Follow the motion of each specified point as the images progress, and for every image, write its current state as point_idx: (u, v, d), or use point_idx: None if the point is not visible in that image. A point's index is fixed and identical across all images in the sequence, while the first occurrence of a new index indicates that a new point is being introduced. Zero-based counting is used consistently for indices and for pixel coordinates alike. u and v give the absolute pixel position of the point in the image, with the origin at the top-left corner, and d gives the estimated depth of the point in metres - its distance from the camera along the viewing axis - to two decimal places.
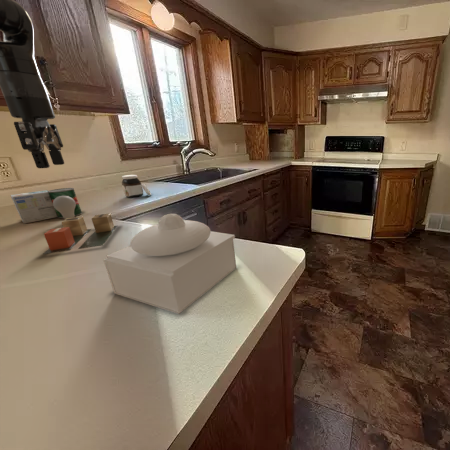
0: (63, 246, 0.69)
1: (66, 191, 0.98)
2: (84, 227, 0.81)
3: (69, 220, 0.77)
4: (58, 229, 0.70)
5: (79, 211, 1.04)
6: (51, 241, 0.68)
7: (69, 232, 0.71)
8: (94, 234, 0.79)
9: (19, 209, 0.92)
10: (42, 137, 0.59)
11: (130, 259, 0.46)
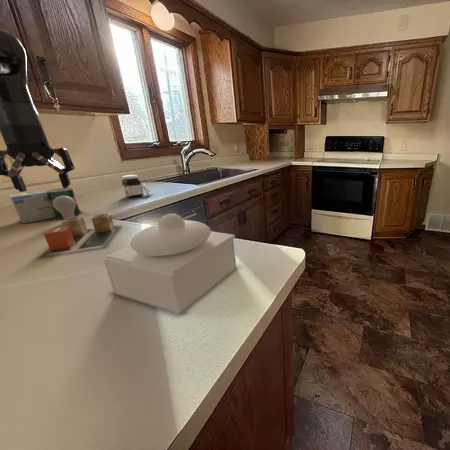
0: (63, 246, 0.69)
1: (65, 191, 0.98)
2: (84, 227, 0.81)
3: (69, 220, 0.77)
4: (58, 229, 0.70)
5: (78, 211, 1.04)
6: (51, 241, 0.68)
7: (69, 232, 0.71)
8: (94, 234, 0.79)
9: (17, 209, 0.92)
10: (13, 163, 0.60)
11: (130, 258, 0.46)
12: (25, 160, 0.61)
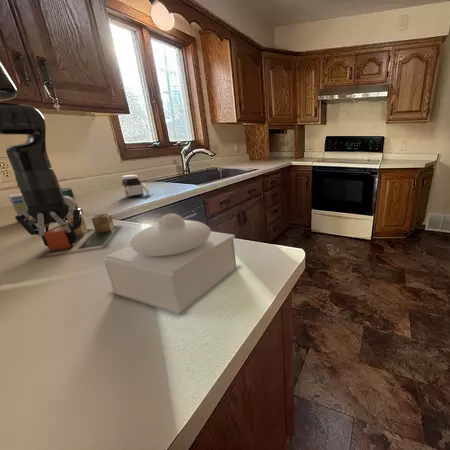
0: (63, 246, 0.69)
1: (64, 191, 0.98)
2: (84, 227, 0.81)
3: None
4: (58, 229, 0.70)
5: None
6: (51, 241, 0.68)
7: None
8: (94, 234, 0.79)
9: (16, 209, 0.92)
10: None
11: (130, 258, 0.46)
12: (46, 218, 0.67)
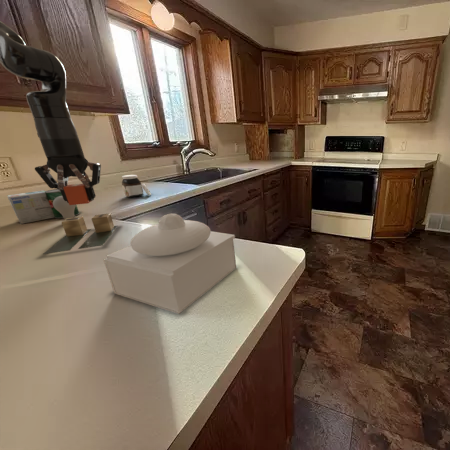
0: (82, 201, 0.68)
1: None
2: (84, 227, 0.81)
3: (69, 220, 0.77)
4: (77, 184, 0.68)
5: (76, 211, 1.03)
6: (71, 196, 0.67)
7: None
8: (94, 234, 0.79)
9: (16, 209, 0.92)
10: None
11: (130, 258, 0.46)
12: (65, 171, 0.65)
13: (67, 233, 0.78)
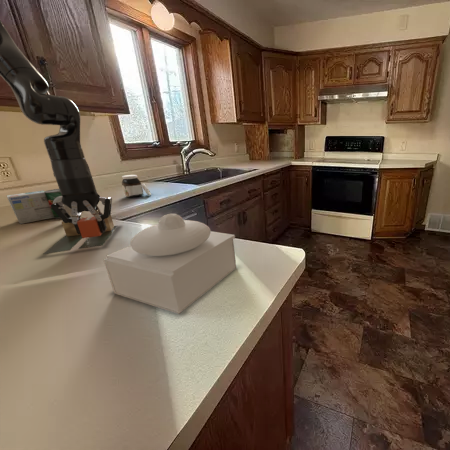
0: (94, 234, 0.72)
1: None
2: None
3: None
4: (89, 218, 0.72)
5: None
6: (84, 229, 0.70)
7: None
8: None
9: (15, 209, 0.92)
10: None
11: (130, 258, 0.46)
12: (79, 206, 0.69)
13: (67, 233, 0.78)
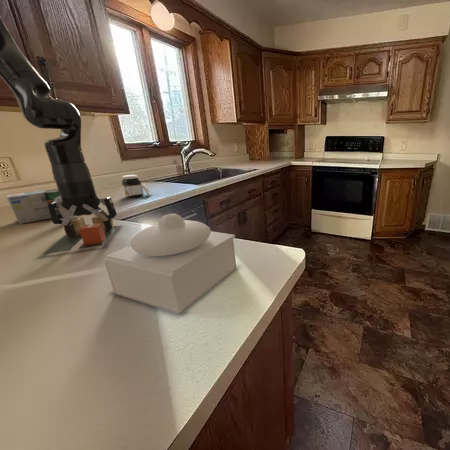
0: (96, 241, 0.72)
1: None
2: None
3: None
4: (91, 225, 0.73)
5: None
6: (86, 237, 0.71)
7: (101, 228, 0.74)
8: None
9: (14, 209, 0.92)
10: (66, 214, 0.68)
11: (130, 258, 0.46)
12: (76, 210, 0.69)
13: None
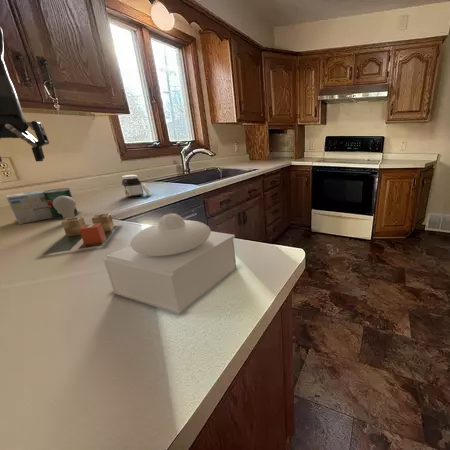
0: (96, 241, 0.72)
1: (61, 192, 0.98)
2: None
3: (69, 220, 0.77)
4: (91, 225, 0.73)
5: (75, 212, 1.03)
6: (86, 237, 0.71)
7: (101, 228, 0.74)
8: None
9: (14, 210, 0.91)
10: None
11: (130, 258, 0.46)
12: None
13: (67, 233, 0.78)
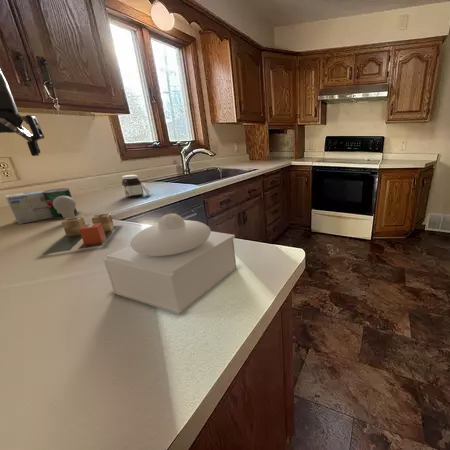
0: (96, 241, 0.72)
1: (61, 191, 0.98)
2: None
3: (69, 220, 0.77)
4: (91, 225, 0.73)
5: (74, 212, 1.03)
6: (86, 237, 0.71)
7: (101, 228, 0.74)
8: None
9: (13, 210, 0.91)
10: None
11: (130, 258, 0.46)
12: None
13: (67, 233, 0.78)
